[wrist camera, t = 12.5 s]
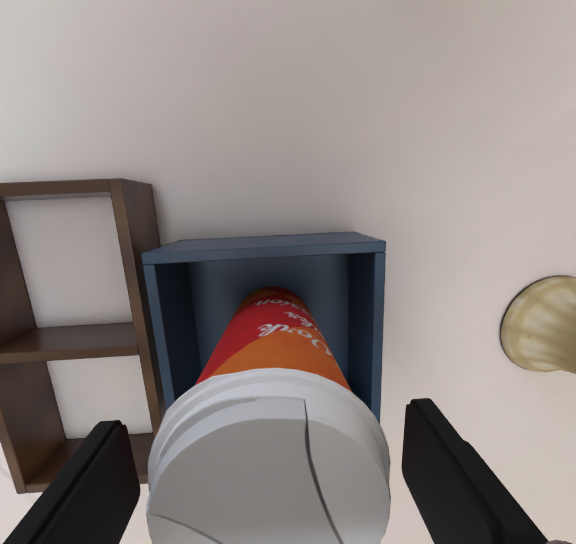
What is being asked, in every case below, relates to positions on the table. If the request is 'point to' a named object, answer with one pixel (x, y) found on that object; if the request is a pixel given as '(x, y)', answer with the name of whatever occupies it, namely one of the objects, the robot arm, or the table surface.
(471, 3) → the table surface
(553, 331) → the hand bell
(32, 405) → the wooden divided tray
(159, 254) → the blue square tray
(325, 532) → the paper cup
